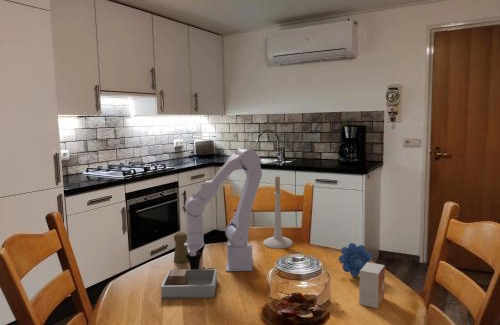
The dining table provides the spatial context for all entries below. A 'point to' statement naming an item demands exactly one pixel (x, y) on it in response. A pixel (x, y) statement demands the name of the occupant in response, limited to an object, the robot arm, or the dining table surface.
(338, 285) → the dining table surface
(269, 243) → the candlestick
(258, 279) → the dining table surface
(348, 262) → the blue flower
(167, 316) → the dining table surface
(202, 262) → the terracotta cylinder
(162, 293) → the tote
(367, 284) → the small box
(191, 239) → the robot arm
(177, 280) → the walnut cube
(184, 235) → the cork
